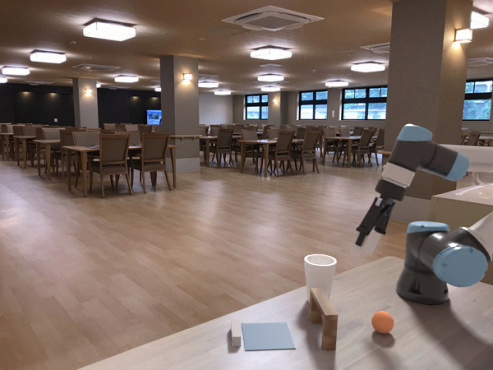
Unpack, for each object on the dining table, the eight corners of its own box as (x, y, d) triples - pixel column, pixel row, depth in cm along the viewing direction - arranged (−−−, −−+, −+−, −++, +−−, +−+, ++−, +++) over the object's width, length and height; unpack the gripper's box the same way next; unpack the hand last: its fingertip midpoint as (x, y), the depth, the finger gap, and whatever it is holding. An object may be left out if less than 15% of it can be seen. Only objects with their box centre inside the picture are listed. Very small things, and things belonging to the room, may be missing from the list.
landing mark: (286, 322, 108) (286, 322, 108) (295, 348, 97) (295, 348, 97) (241, 324, 107) (241, 323, 107) (245, 350, 96) (245, 349, 96)
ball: (387, 326, 108) (389, 306, 107) (396, 337, 102) (398, 317, 101) (367, 326, 107) (369, 307, 106) (375, 338, 102) (377, 318, 101)
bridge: (319, 319, 111) (321, 287, 109) (335, 350, 96) (338, 314, 95) (308, 319, 110) (310, 288, 109) (323, 350, 96) (325, 315, 94)
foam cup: (334, 310, 116) (336, 267, 113) (301, 306, 118) (303, 264, 115) (333, 295, 125) (336, 255, 123) (303, 292, 127) (305, 253, 124)
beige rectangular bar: (238, 328, 105) (238, 319, 105) (240, 346, 98) (240, 336, 97) (230, 328, 105) (230, 319, 105) (232, 346, 97) (232, 336, 97)
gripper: (390, 180, 119) (361, 245, 122) (368, 172, 97) (333, 251, 101) (415, 190, 115) (384, 257, 118) (398, 184, 94) (360, 266, 97)
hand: (361, 254), depth 109 cm, fingers open, 13 cm apart
